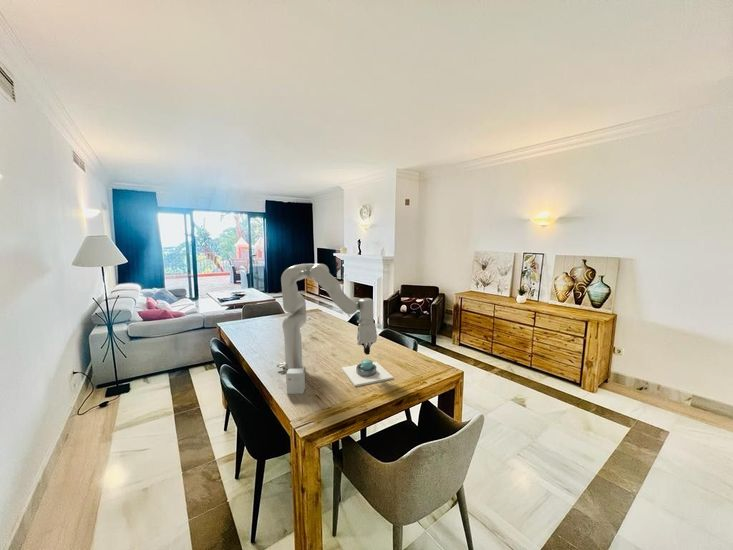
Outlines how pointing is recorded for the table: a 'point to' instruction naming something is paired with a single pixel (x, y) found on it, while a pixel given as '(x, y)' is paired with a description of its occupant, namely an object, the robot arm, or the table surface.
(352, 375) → the mount plate
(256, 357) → the table surface
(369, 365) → the teal bumpy cylinder
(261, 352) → the table surface
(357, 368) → the dark grey round dish
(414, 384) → the table surface
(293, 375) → the small box
